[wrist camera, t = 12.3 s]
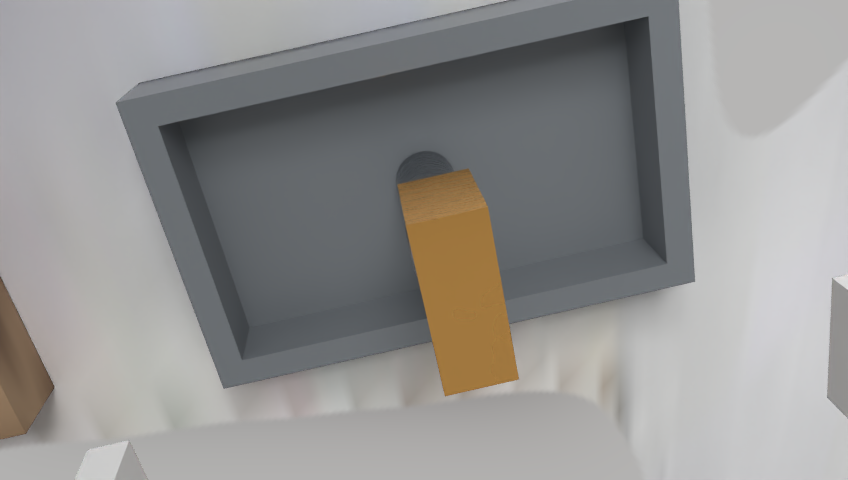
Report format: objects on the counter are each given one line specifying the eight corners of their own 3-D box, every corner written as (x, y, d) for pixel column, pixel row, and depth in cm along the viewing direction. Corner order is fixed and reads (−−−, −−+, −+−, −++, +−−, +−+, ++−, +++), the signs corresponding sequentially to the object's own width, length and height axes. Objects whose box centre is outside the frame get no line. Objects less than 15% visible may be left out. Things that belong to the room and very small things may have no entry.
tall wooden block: (381, 121, 27) (401, 226, 18) (441, 108, 27) (491, 205, 18) (410, 245, 29) (441, 396, 20) (466, 232, 29) (522, 378, 20)
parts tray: (139, 82, 26) (115, 102, 23) (642, -30, 26) (676, -23, 24) (234, 346, 31) (223, 388, 28) (663, 248, 31) (694, 281, 28)
